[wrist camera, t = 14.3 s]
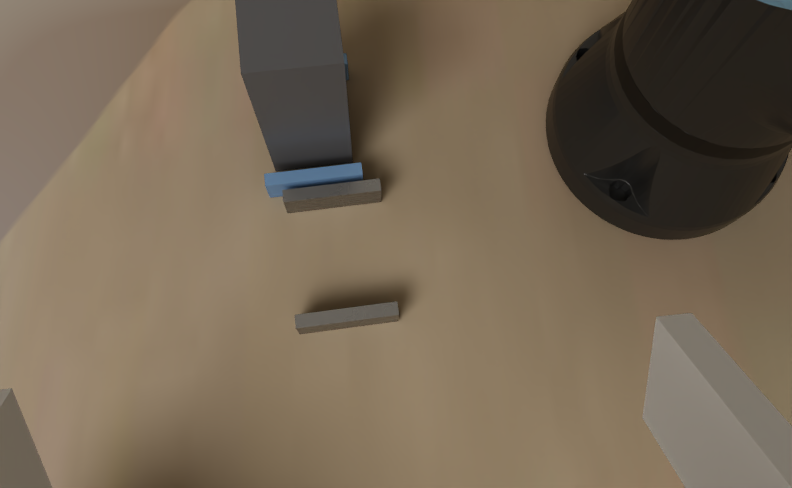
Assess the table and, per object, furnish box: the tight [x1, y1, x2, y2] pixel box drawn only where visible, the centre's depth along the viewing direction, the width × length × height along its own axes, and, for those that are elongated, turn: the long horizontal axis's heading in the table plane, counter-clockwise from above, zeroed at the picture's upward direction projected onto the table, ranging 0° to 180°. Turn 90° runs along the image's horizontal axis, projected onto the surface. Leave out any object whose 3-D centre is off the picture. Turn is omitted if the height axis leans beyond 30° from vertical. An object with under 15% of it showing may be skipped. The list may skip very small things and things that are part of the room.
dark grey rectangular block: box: [235, 0, 353, 171], centre depth 40 cm, size 5×5×12 cm
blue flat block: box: [264, 53, 363, 198], centre depth 45 cm, size 6×9×2 cm
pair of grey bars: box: [282, 178, 399, 334], centre depth 42 cm, size 6×9×2 cm
